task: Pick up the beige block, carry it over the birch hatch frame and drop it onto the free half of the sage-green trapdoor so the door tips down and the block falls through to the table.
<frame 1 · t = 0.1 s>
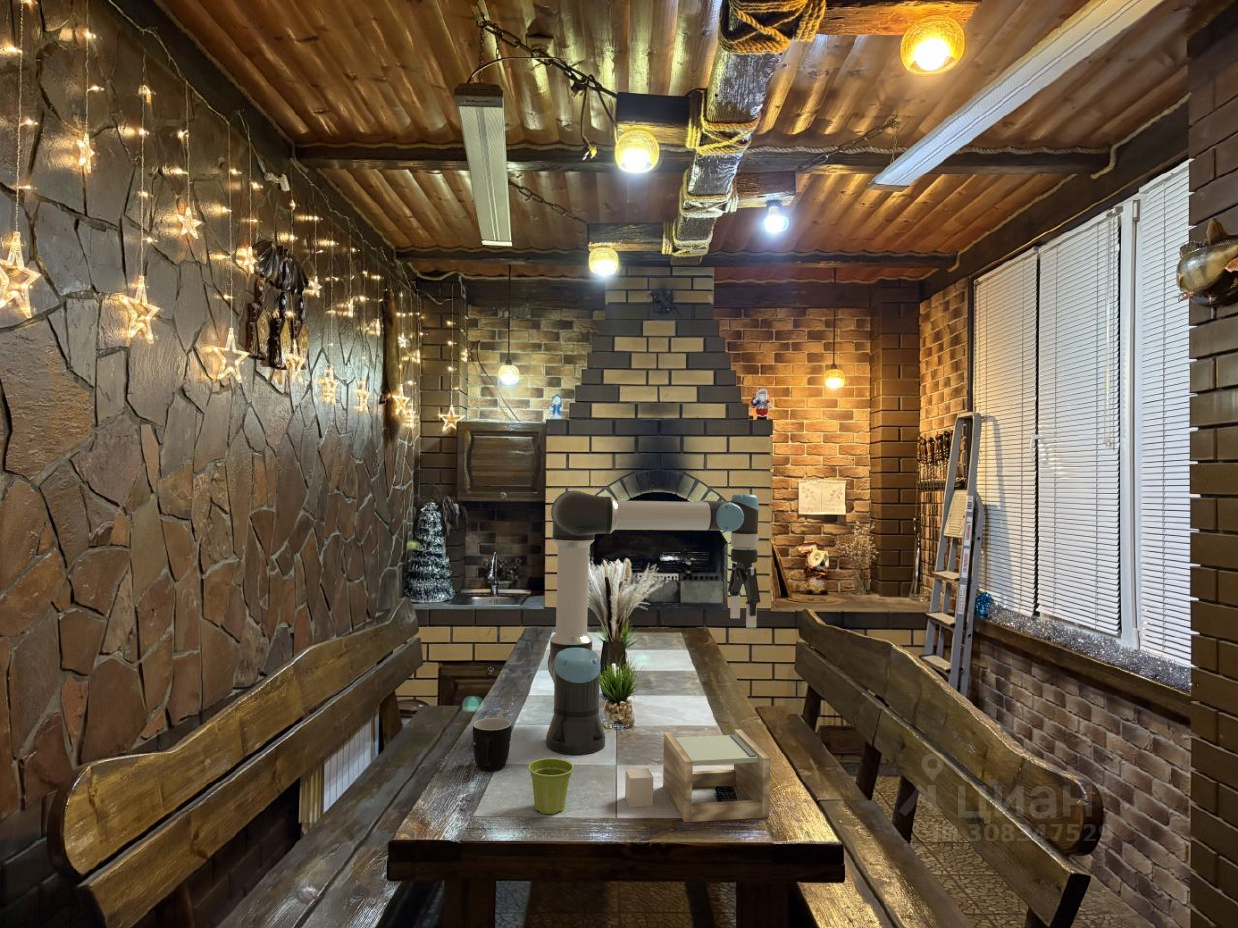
hand: (742, 622, 221), 28 cm above the table, fingers open, 13 cm apart
beige block: (638, 801, 164), on the table
trapdoor: (714, 748, 166), point 11 cm above the table, hinge at -0.2°
plant pot: (550, 809, 160), on the table
mug: (489, 769, 181), on the table
hatch frame: (713, 800, 165), on the table
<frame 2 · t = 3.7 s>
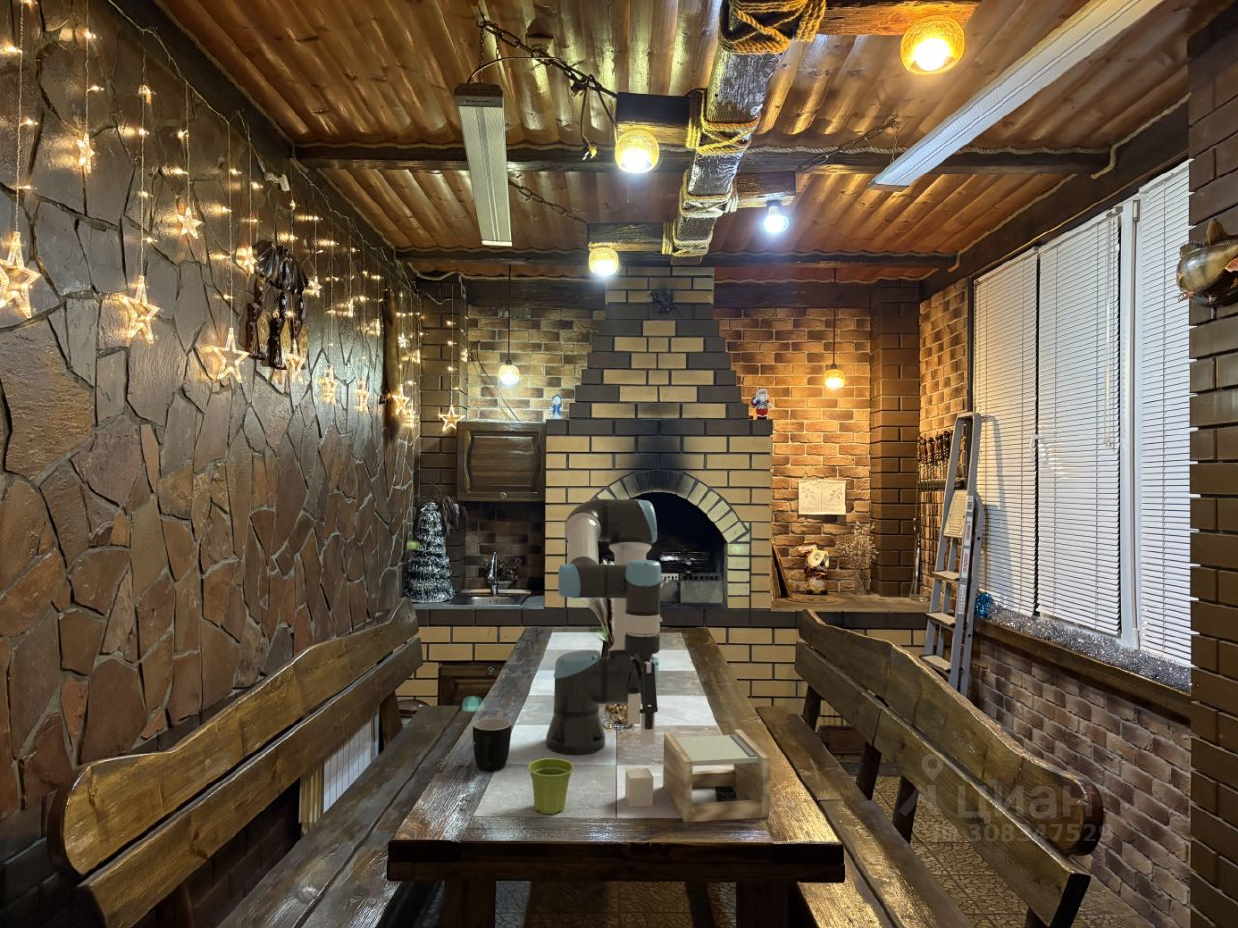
hand: (640, 733, 164), 14 cm above the table, fingers open, 13 cm apart
nothing on the table moved.
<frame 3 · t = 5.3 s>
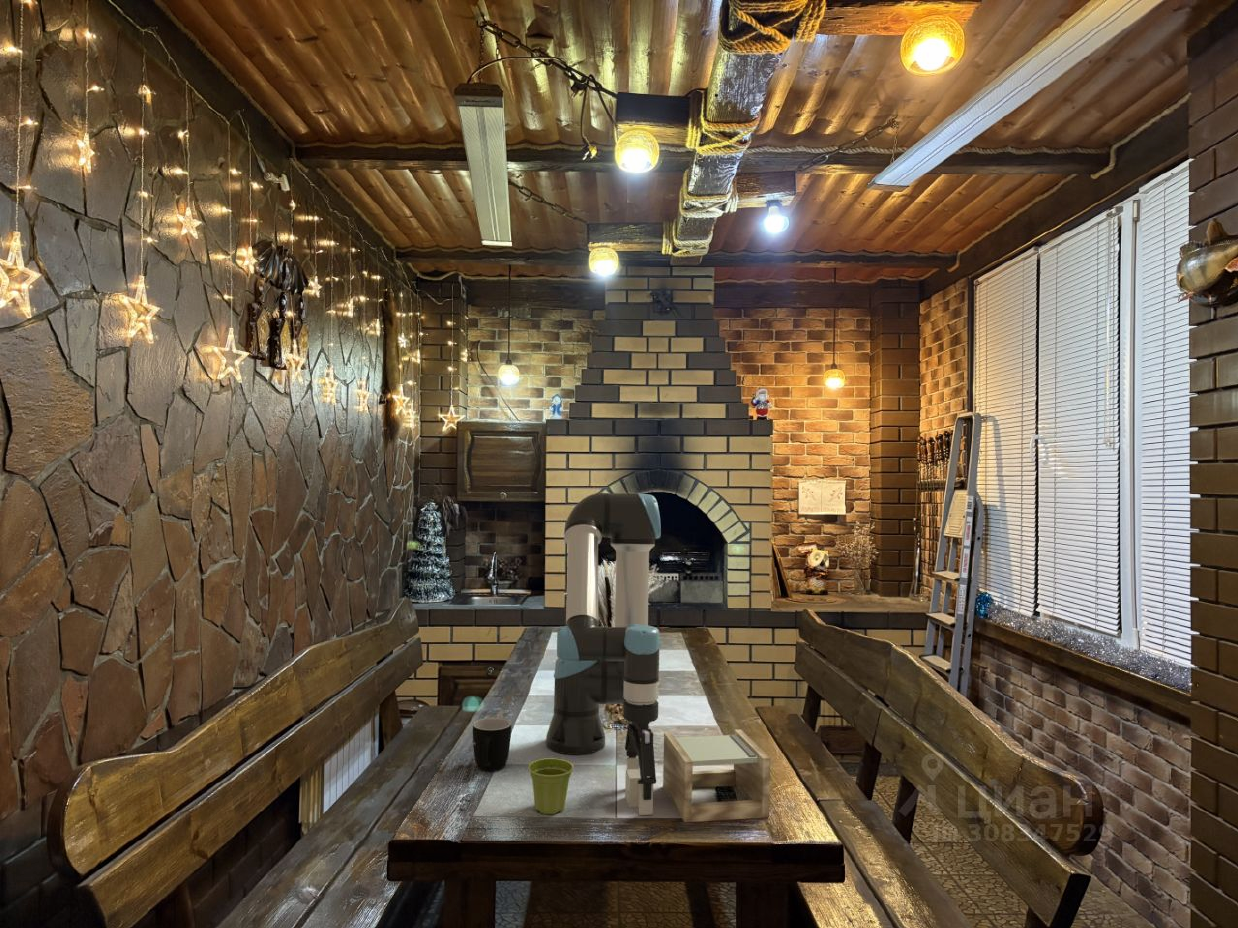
hand: (638, 800, 164), 0 cm above the table, fingers open, 13 cm apart
nothing on the table moved.
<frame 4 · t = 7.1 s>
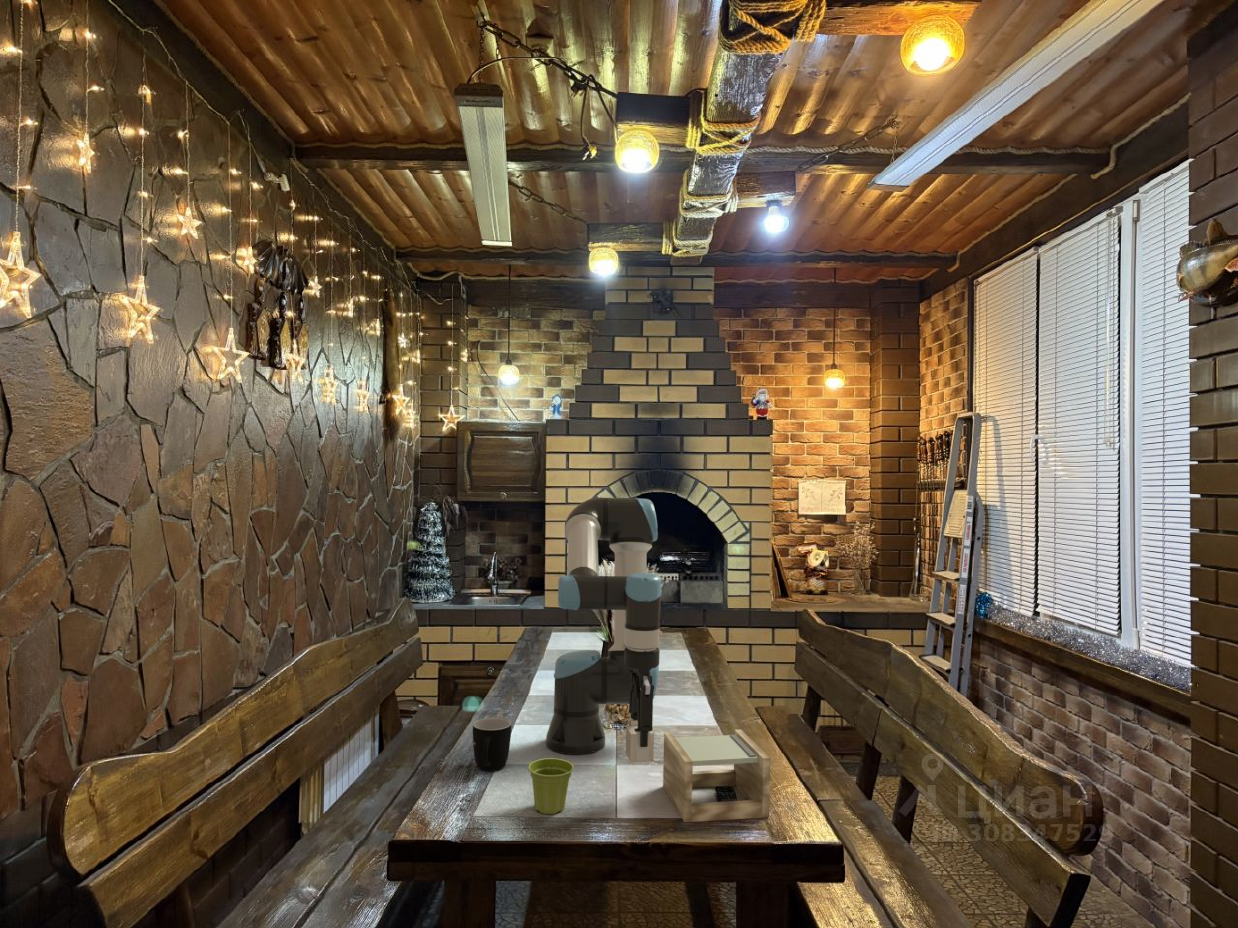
hand: (639, 754, 165), 10 cm above the table, fingers closed on beige block, 5 cm apart
beige block: (639, 757, 165), point 9 cm above the table, touching gripper
everything else where it was.
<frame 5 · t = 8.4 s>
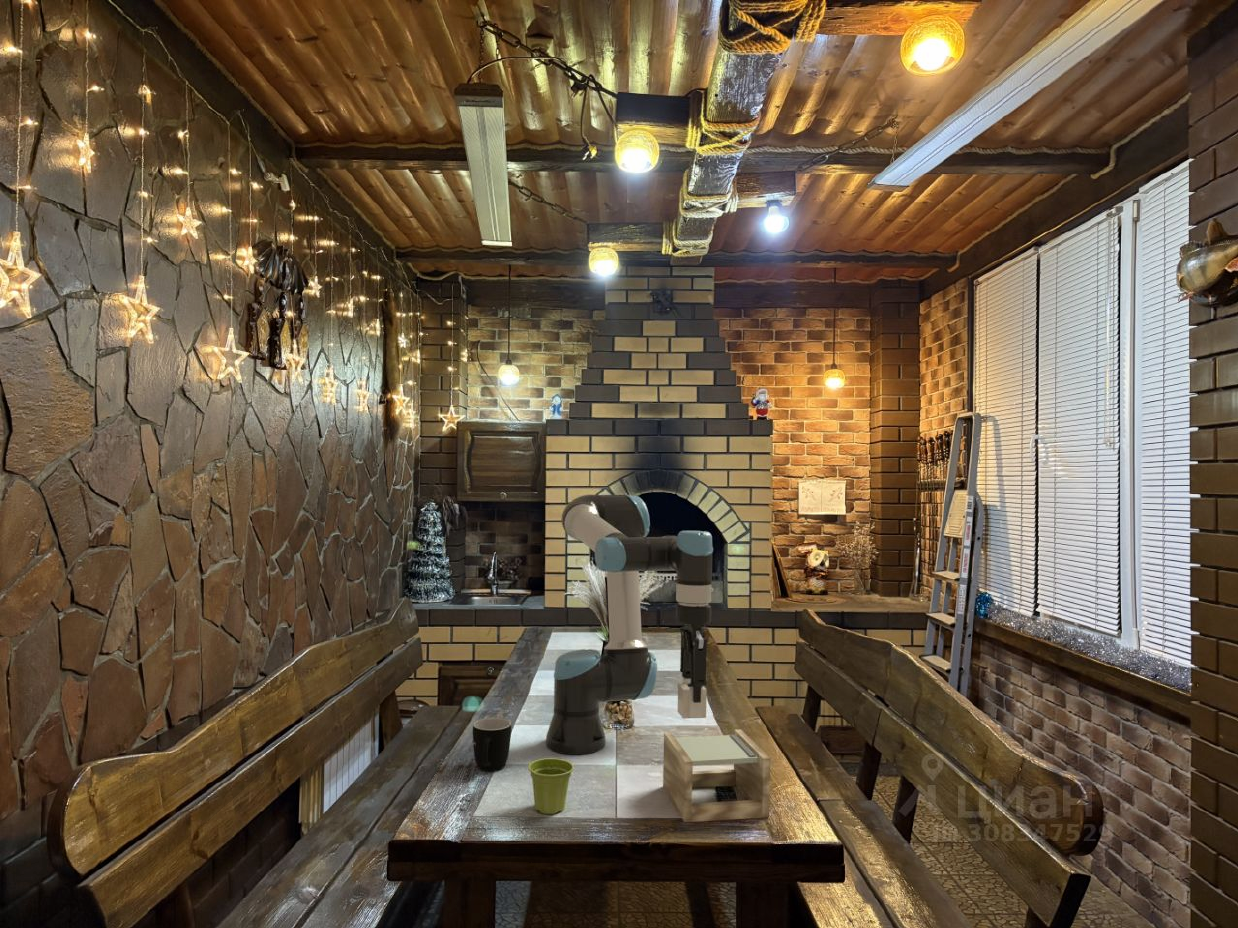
hand: (691, 712, 165), 19 cm above the table, fingers closed on beige block, 5 cm apart
beige block: (691, 714, 165), point 19 cm above the table, touching gripper
everything else where it was.
when the fingers open (13 cm above the table, at t = 9.8 s): beige block drops 4 cm, resting on trapdoor.
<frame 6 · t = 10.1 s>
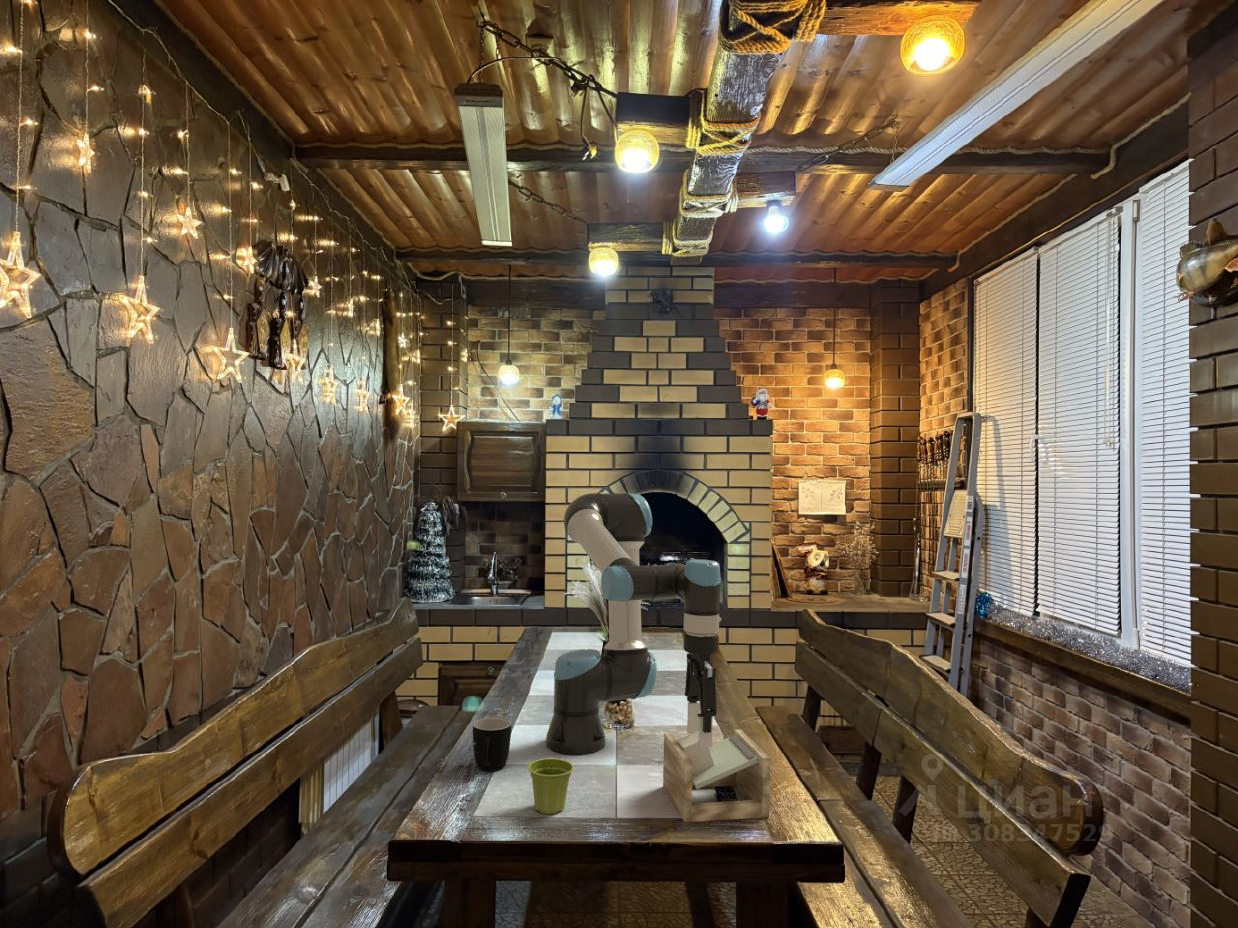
hand: (699, 739, 165), 13 cm above the table, fingers open, 8 cm apart
beige block: (700, 765, 165), point 8 cm above the table, tilted 21°, touching trapdoor
trapdoor: (716, 760, 166), point 9 cm above the table, hinge at -20.8°, touching beige block
everything else where it was.
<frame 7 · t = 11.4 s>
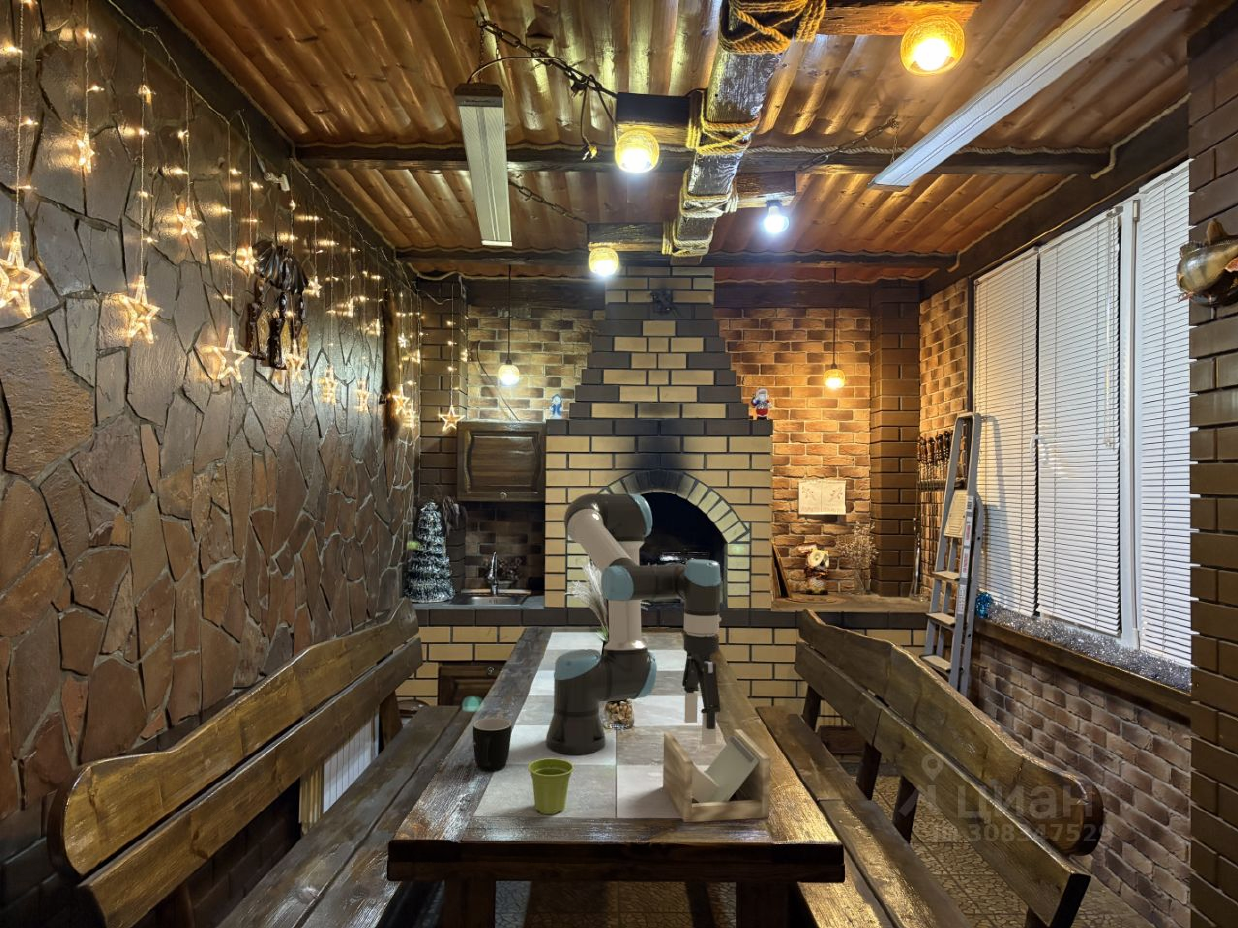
hand: (699, 732, 165), 15 cm above the table, fingers open, 13 cm apart
beige block: (708, 791, 165), point 2 cm above the table, tilted 50°, touching hatch frame, trapdoor
trapdoor: (724, 773, 166), point 6 cm above the table, hinge at -49.9°, touching beige block
everything else where it was.
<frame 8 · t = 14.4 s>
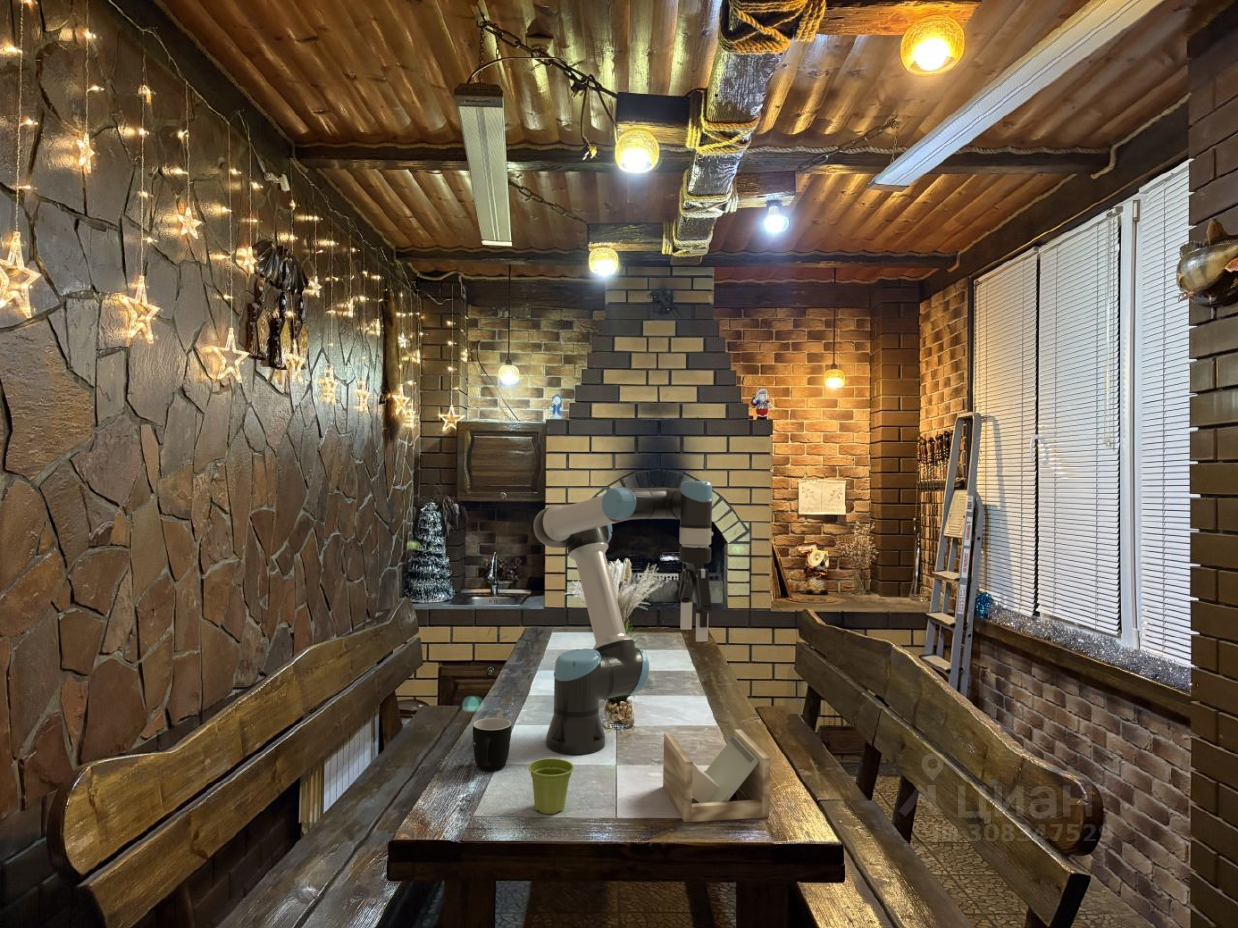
hand: (693, 635, 184), 32 cm above the table, fingers open, 13 cm apart
nothing on the table moved.
at the end: beige block point 1.9 cm above the table; beige block inside the target area on the hatch frame (1.3 cm from its centre), point 1.9 cm above the hatch frame's base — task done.
